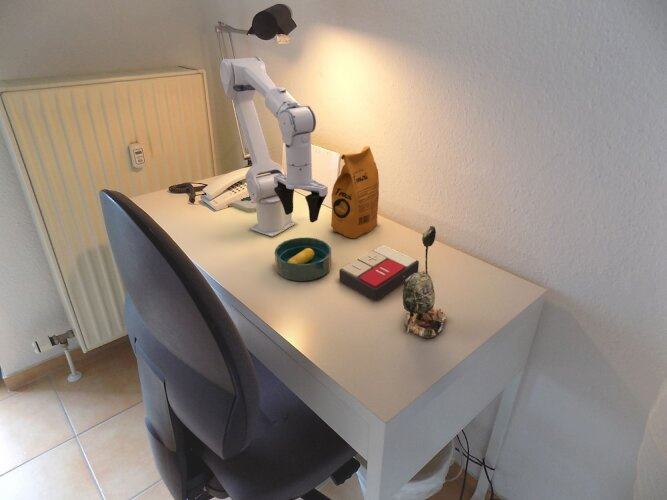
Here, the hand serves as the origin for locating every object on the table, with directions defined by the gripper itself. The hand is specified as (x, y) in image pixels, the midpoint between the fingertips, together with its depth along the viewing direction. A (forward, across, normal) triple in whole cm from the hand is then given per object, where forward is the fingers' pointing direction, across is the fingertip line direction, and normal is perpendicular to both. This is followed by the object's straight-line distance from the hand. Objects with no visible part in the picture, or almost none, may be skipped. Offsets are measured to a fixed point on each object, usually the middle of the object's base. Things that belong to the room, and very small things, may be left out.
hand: (301, 217), depth 104 cm
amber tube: (+9, +5, -6) cm, 12 cm away
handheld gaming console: (+10, -31, +17) cm, 37 cm away
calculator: (+10, +22, 0) cm, 24 cm away
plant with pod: (+10, +37, -10) cm, 40 cm away
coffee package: (+10, +4, +18) cm, 21 cm away
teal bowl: (+9, +5, -6) cm, 12 cm away
